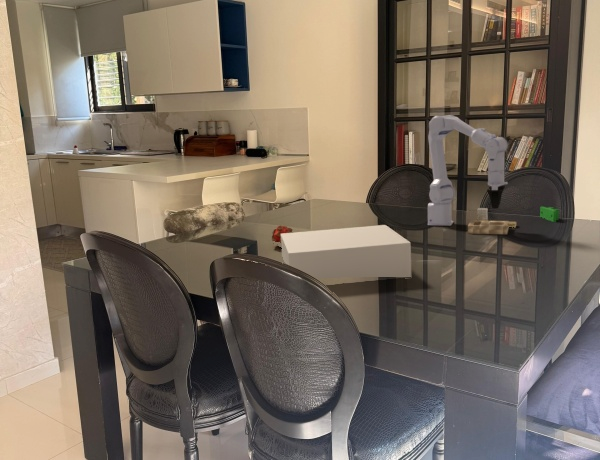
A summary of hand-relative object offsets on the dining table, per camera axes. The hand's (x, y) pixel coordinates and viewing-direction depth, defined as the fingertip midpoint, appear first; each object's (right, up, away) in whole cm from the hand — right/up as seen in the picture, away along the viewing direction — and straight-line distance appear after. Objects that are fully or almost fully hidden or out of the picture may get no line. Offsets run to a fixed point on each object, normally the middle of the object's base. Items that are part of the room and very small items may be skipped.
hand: (496, 206), depth 213 cm
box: (-61, -22, -38) cm, 75 cm away
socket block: (-2, -9, +3) cm, 10 cm away
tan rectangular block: (+8, -8, +9) cm, 14 cm away
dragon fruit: (-80, -15, -1) cm, 81 cm away
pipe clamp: (+28, -5, +18) cm, 34 cm away
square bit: (-1, -7, +12) cm, 14 cm away
